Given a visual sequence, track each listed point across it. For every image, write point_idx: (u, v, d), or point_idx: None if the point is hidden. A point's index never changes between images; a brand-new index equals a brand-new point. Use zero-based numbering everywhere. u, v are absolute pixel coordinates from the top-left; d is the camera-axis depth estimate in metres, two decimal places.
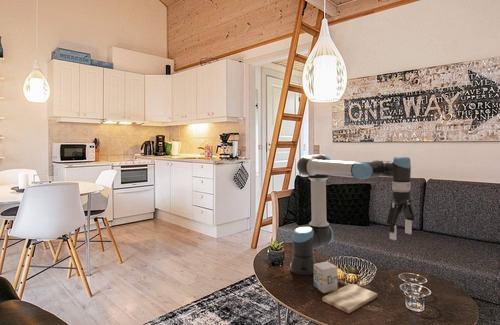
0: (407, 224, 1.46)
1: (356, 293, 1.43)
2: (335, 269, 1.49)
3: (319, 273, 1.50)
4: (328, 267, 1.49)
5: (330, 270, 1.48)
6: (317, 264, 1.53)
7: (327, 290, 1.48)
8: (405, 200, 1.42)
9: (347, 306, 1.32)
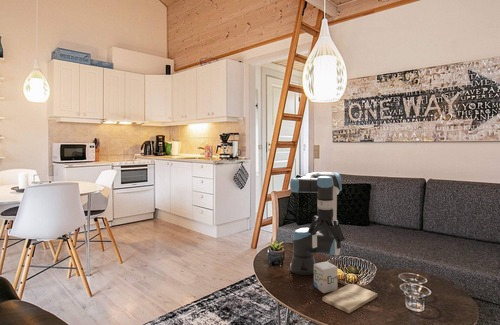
0: None
1: (356, 293, 1.43)
2: (335, 269, 1.49)
3: (319, 273, 1.50)
4: (328, 267, 1.49)
5: (330, 270, 1.48)
6: (317, 264, 1.53)
7: (327, 290, 1.48)
8: (326, 218, 1.48)
9: (347, 306, 1.32)
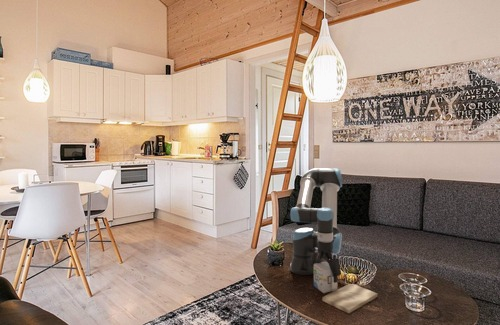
0: None
1: (356, 293, 1.43)
2: None
3: (319, 273, 1.50)
4: (328, 267, 1.49)
5: (330, 270, 1.48)
6: (317, 264, 1.53)
7: (327, 290, 1.48)
8: (327, 250, 1.49)
9: (347, 306, 1.32)
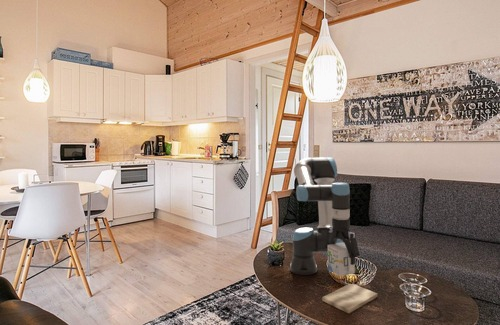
0: None
1: (356, 293, 1.43)
2: None
3: (334, 254, 1.34)
4: (344, 247, 1.34)
5: (346, 251, 1.33)
6: (331, 245, 1.38)
7: (343, 273, 1.32)
8: (343, 229, 1.34)
9: (347, 306, 1.32)
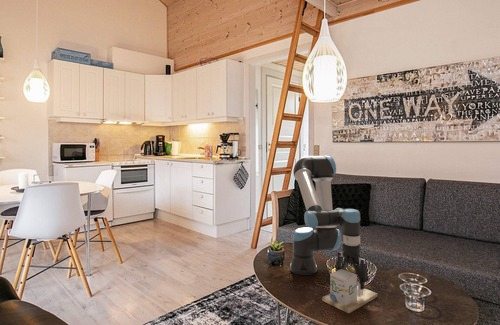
0: None
1: None
2: (355, 277, 1.36)
3: (339, 284, 1.34)
4: (348, 276, 1.35)
5: (351, 279, 1.34)
6: (334, 274, 1.38)
7: (349, 302, 1.34)
8: (353, 254, 1.39)
9: (347, 306, 1.32)
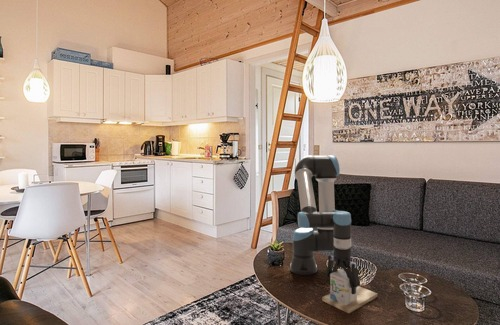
0: None
1: None
2: None
3: (339, 284, 1.34)
4: None
5: None
6: (334, 274, 1.38)
7: (349, 302, 1.34)
8: (344, 258, 1.34)
9: (347, 306, 1.32)
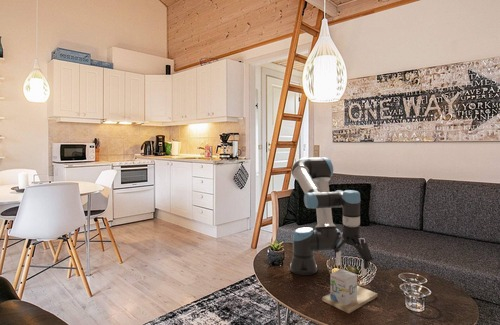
0: None
1: None
2: (355, 277, 1.36)
3: (339, 284, 1.34)
4: (349, 276, 1.35)
5: (351, 279, 1.34)
6: (335, 274, 1.38)
7: (349, 301, 1.34)
8: (353, 236, 1.38)
9: (347, 306, 1.32)
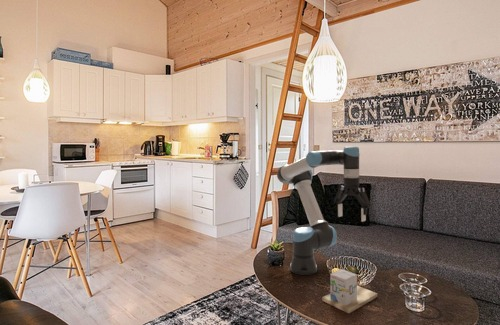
0: None
1: None
2: (355, 277, 1.36)
3: (339, 284, 1.34)
4: (349, 276, 1.35)
5: (351, 279, 1.34)
6: (335, 274, 1.38)
7: (349, 301, 1.34)
8: (353, 186, 1.54)
9: (347, 306, 1.32)
